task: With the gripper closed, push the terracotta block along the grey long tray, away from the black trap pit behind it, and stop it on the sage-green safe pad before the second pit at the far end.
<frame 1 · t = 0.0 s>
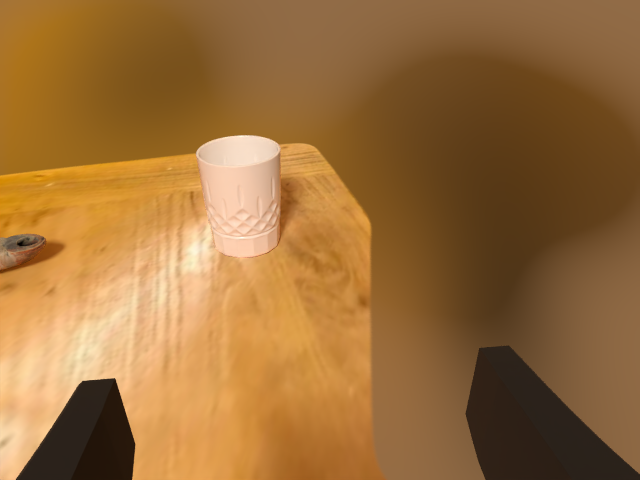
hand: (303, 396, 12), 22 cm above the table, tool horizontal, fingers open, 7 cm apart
white cup: (246, 243, 60), on the table
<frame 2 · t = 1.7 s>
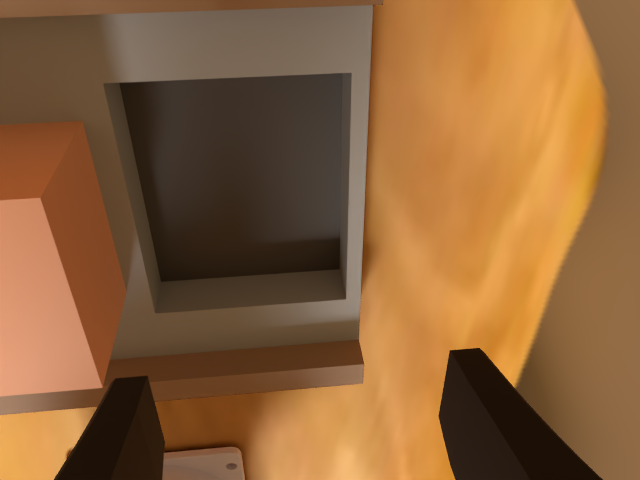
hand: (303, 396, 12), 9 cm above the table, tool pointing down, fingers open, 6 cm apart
block: (10, 221, 17), point 2 cm above the table, touching grey long tray
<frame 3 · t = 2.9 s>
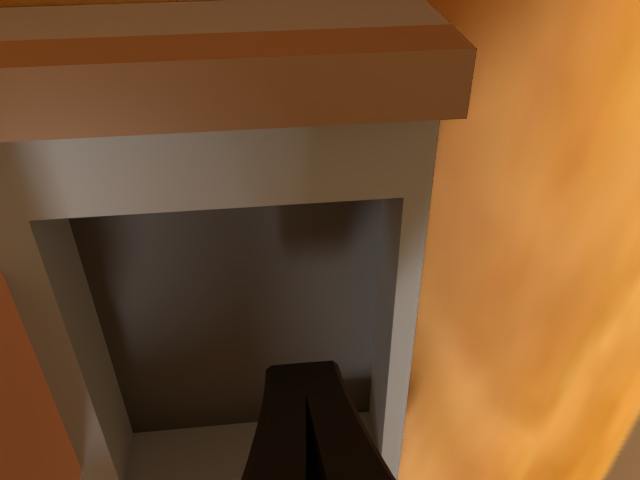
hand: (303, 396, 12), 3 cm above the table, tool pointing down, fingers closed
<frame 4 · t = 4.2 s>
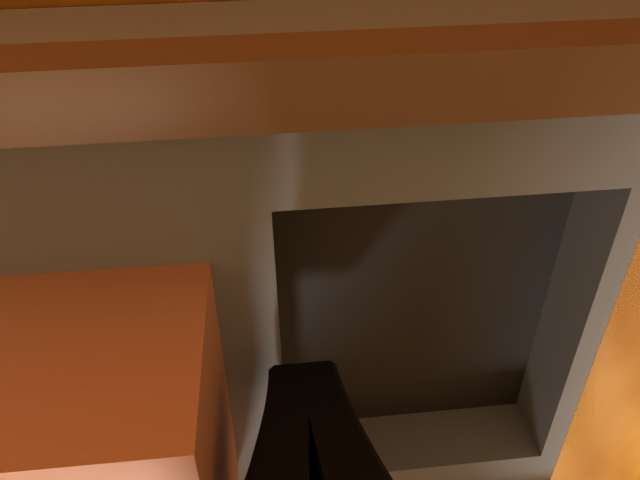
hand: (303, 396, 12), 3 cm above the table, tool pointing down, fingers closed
block: (90, 387, 12), point 2 cm above the table, touching gripper
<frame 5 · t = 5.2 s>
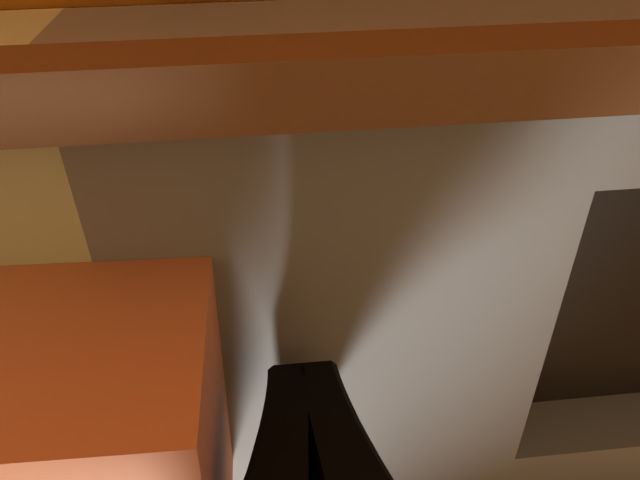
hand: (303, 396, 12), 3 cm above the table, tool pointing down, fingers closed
grey long tray: (185, 316, 14), on the table
block: (87, 380, 12), point 2 cm above the table, touching gripper
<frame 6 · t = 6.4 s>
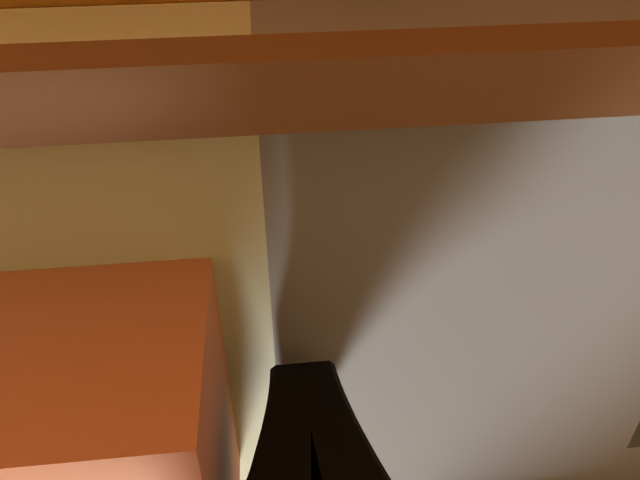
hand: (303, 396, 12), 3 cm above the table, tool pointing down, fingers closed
grey long tray: (314, 306, 14), on the table
block: (92, 383, 12), point 2 cm above the table, touching gripper, grey long tray
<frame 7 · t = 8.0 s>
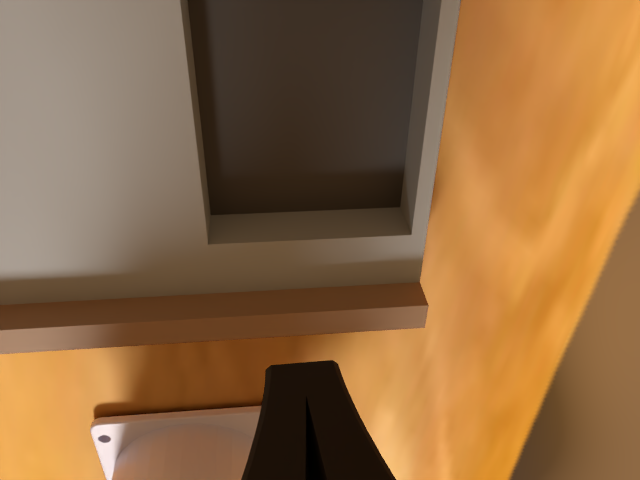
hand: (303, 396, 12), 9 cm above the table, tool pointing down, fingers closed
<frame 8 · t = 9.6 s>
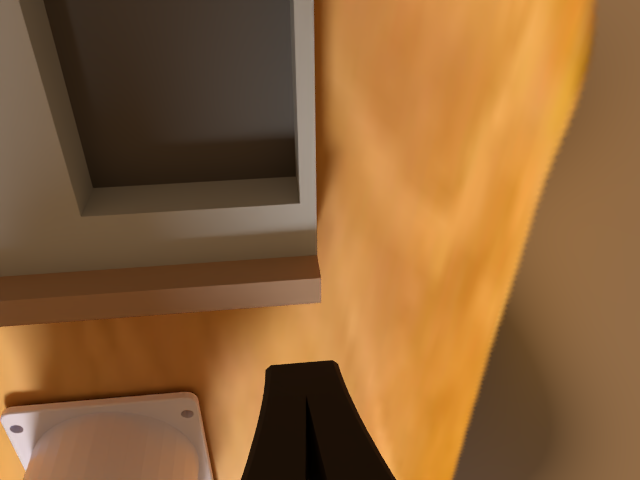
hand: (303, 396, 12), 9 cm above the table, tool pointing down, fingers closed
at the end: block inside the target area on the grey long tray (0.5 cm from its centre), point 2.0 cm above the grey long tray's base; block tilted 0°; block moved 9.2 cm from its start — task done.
